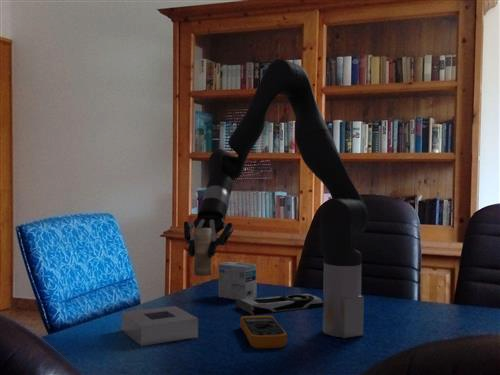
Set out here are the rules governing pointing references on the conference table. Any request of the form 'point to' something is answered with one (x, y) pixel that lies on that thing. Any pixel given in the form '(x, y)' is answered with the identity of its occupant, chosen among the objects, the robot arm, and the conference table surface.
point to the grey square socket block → (159, 325)
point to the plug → (202, 251)
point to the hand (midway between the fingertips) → (200, 255)
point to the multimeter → (263, 331)
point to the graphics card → (278, 303)
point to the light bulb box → (237, 280)
